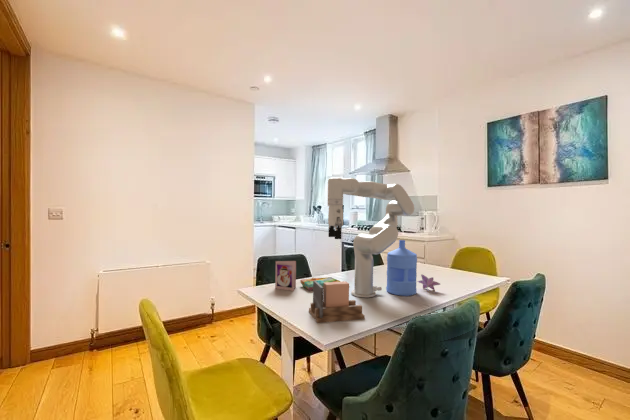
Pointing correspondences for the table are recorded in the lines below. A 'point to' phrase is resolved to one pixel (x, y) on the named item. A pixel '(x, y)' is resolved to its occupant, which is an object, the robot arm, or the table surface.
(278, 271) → the greeting card
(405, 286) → the water jug
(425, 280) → the lily
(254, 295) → the table surface
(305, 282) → the puzzle game
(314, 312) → the book rack
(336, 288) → the book
